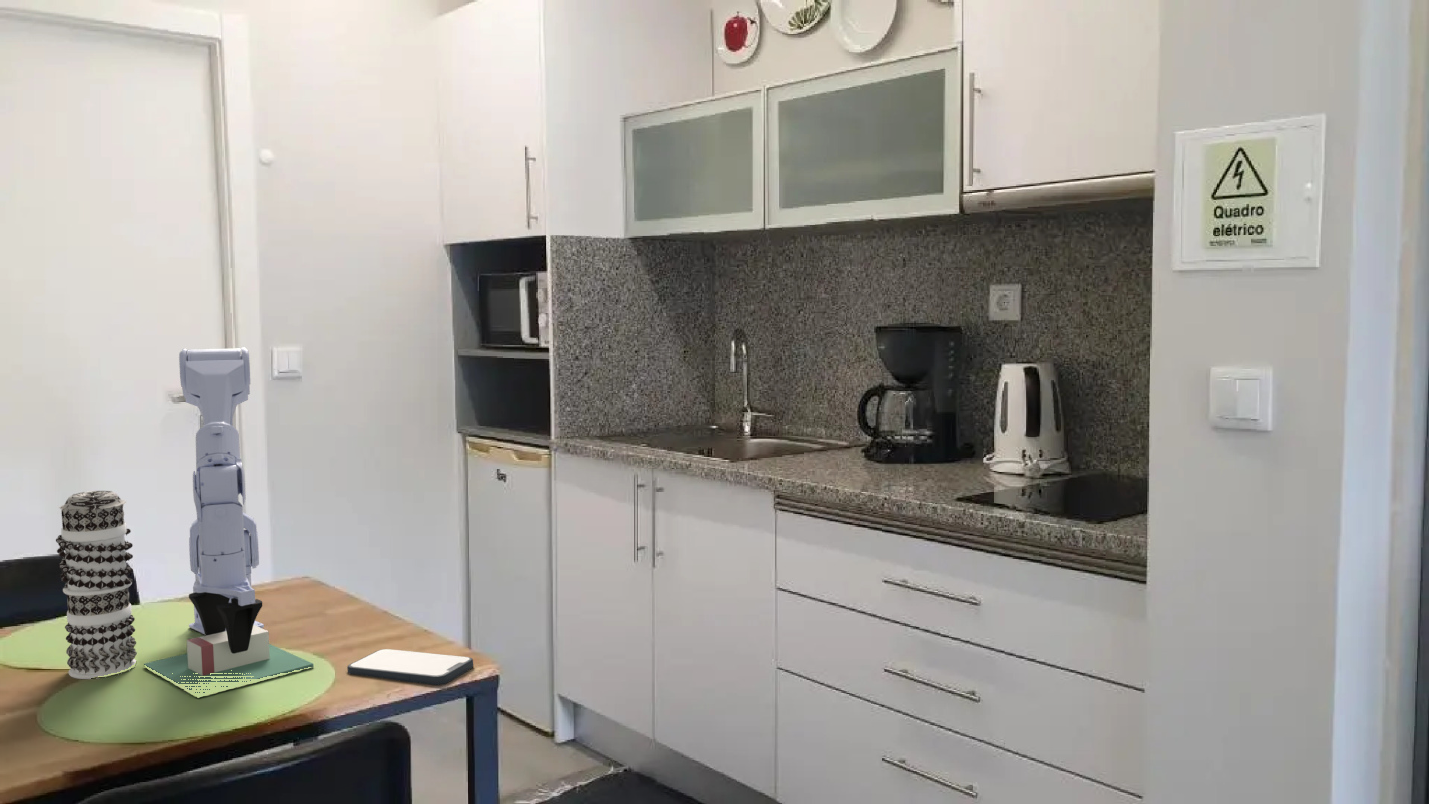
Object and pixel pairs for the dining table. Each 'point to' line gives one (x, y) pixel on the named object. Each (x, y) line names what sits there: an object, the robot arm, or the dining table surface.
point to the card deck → (225, 652)
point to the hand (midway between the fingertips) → (227, 645)
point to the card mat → (269, 667)
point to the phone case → (411, 666)
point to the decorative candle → (96, 584)
